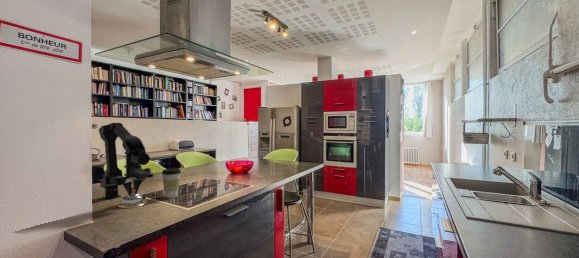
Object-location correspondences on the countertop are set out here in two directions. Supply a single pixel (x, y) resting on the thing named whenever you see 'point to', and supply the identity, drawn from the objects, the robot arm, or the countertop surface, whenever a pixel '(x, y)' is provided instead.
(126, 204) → the press pot
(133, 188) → the plunger
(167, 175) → the coffee cup
